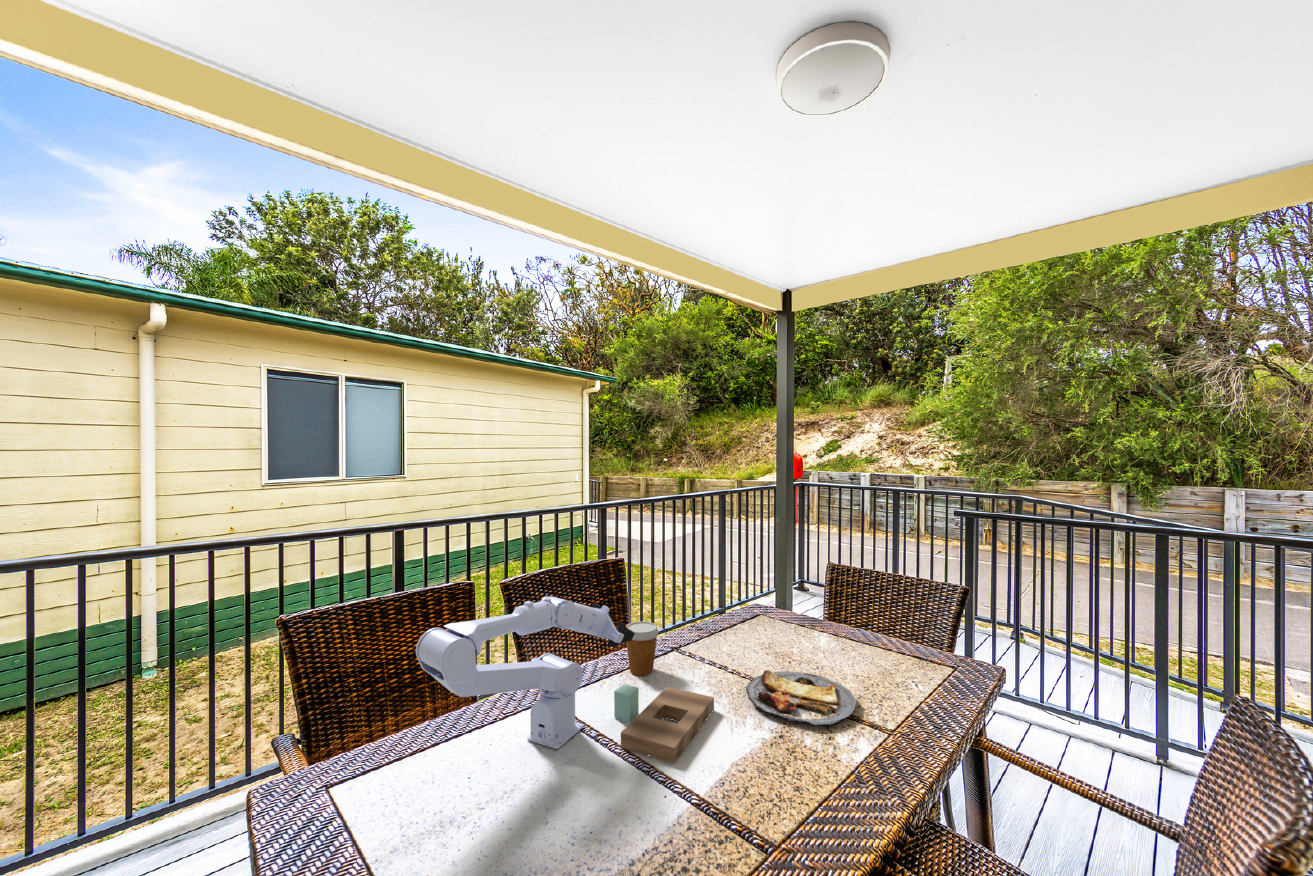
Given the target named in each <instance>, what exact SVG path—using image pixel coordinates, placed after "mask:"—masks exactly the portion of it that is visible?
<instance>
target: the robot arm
mask: <svg viewBox="0 0 1313 876" xmlns="http://www.w3.org/2000/svg"><path fill="white" fill-rule="evenodd" d="M609 612H610V608H609V607H608V606H607V605H602V606H601V605H600V604H599V603H597V602H593V603H592V604H591V605H590V606H588V605H585V604H581V603H578V602H574V601H572V600H568V599H564V598H559V597H555V596H551V595H550V596H548V595H546V596H544V597H543V598H542V599H541V600H540V601H537V602H534V601H530V600H527V601H524V603H523V605H519V606H517V607H515V608H514V610H513V612H512V613H511V614H509V613H508V614H503V615H498V616H491V617H486V618H479V619H474V620H473V619H472V620H466V621H459V622H450V623H448V624H445V625H443V627H444V628H446V629H447V630H446V629H444V628H442V627H433V628H430V629H428V630H426V631H425V632H424V633H423V634H422V635H421V636H420V637H419V638H418V641H417V643H416V646H415V655H416V659H417V661H418V662H419V663H418V664H419V665H420V668H421V669H422V670H423V671H425V672H426V673H427V674H428V675H431V677H433V678H434V680H436V681H438V682H439V683H440V685H442V686H443V687H445V689H446V690H448V691H449V692H451V693H452V694H454V695H456V696H458V697H459V698H467V697H475V696H483V695H484V696H485V695H492V694H493V695H495V694H501V693H510V692H519V691H520V692H521V691H527V690H536V689H538V690H539V689H540V695H539V697H538V698H537V700H536V702H535V703H534V704H533V705H532V706H531V708H530V734H529V736H527V737H526V738H527V741H529V742H533V743H536V744H538V745H539V744H540V745H542V746H544V747H547V748H551V749H555V750H558V749H560V748H561V747H562V746H563V745H564V744H566V743H567V742H568V741H569V740H570V739H572V738H573V736H575V735H576V734H577V733H578V732H579V731H581V730H582V729H583V728H584V723H580V722H576V692H578V689H579V687H580V686H581V683H582V680H583V675H584V671H583V668H582V666H581V665H580V664H579V663H578V662H574V661H570V660H568V659H565V658H562V657H560V656H558V655H555V654H553V653H551V652H544V654H542V655H540V656H539V657H534V658H531V659H530V661H522V662H505V663H490V664H477V658H476V656H479V655H480V654H481V652H482V647H483V645H484V642H486V641H487V642H488V641H489V640H493V639H496V638H499V637H502V636H505V635H508V634H510V633H514V632H515V633H516V634H517V635H519V636H522V637H523V636H526V635H530V634H533V633H537V632H542V631H545V630H549V629H550V628H553V627H554V628H558V629H561V631H563V630H569V631H570V630H571V631H574V632H578V633H582V634H587V635H591V636H593V637H597V638H601V639H605V640H608V641H607V644H608V645H609V646H611V647H612V648H617V647H618V646H620V645H621V644H624V643H627V642H628V641H631V640H632V638H633V636H634V634H635V633H634V632H633V631H632V630H630V629H628V628H627V627H626V626H627V625H625V623H624V622H622V621H619V622H618V625H617V626H616V625H615V624H614V621H615V619H616V617H615V616H613V615H612V614H610V613H609Z"/></svg>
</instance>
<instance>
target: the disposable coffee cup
mask: <svg viewBox="0 0 1313 876" xmlns="http://www.w3.org/2000/svg"><path fill="white" fill-rule="evenodd" d="M626 627H627V628H628V629H630V630H632V631H633V632H634V633H635V634H634V636H633V638H632V640H631V641H628V642H626V649H627V656H628V657H627V658H628V665H629V672H630V674H631V675H633V674H634V676H637V675H638V677H639V676H640V677H643V676H642V675H645V676H648V675H647V674H649V675H651V674H652V673H653V672H654V666H655V665H654V664H655V657H656V656H655V655H656V646H657V639H658V638H657V637H658V635H659V629H658V625H657V624H655V623H653V622H651V621H634V622H630V623H628V624H627V625H626ZM650 673H651V674H650Z"/></svg>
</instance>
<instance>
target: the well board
mask: <svg viewBox="0 0 1313 876" xmlns="http://www.w3.org/2000/svg"><path fill="white" fill-rule="evenodd" d="M714 697H715V696H714ZM714 697H713V696H710V695H706V694H702V693H697V692H693V691H688V690H683V689H680V688H675V687H670V686H666V687H665V688H664V689H663V690H662V691H661V692H660V693H659V694H658V695H657V696H656V697H655V698H654V699H653V700H652V701H651V702H650V703H649V704H648V705H647V706H646V707H645V708H644V709H643V710H642V711H641V712H640V713H639V714H638V715H637V716H636V717H635V718H634V719H633V720H632V721H631V722H630V723H629V724H628V725H627V726H626V727H625V728H624V729H623V730H622V731H621V732H620V748H621V747H622V748H621V749H624V750H627V751H630V752H633V751H635V752H634V753H637V752H638V753H637V754H640V753H641V754H640V755H643V754H644V756H647V755H650V756H651V758H653V757H654V759H656V760H657V759H658V760H660V761H663V760H664V761H663V762H668V763H671V764H673V765H676V763H677V762H678V760H679V759H680V758H681V756H682V755H683V754H684V752H685V750H686V749H687V748H688V747H689V744H690V743H691V742H692V741H693V740H694V738H695V737H696V735H697V734H698V733H697V732H699V731H700V730H701V729H702V727H703V726H704V725H705V723H706V722H707V721H706V719H707V718H708V717H709V718H710V716H711V715H712V714H713V712H714V711H715V700H714V699H715V698H714ZM713 710H714V711H713ZM712 711H713V712H712ZM711 713H712V714H711ZM710 714H711V715H710ZM709 715H710V716H709ZM663 718H664V719H666V718H668V720H670V719H673V720H672V721H674V720H676V721H675V723H674V722H671V721H668V720H664V719H663ZM709 718H708V719H709ZM662 719H663V720H662ZM708 719H707V720H708ZM678 721H679V722H678ZM705 721H706V722H705ZM676 722H677V723H676ZM703 724H704V725H703ZM702 725H703V726H702ZM700 728H701V729H700ZM699 729H700V730H699ZM650 756H649V757H650Z"/></svg>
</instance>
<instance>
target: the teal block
mask: <svg viewBox="0 0 1313 876" xmlns="http://www.w3.org/2000/svg"><path fill="white" fill-rule="evenodd" d="M613 692H614V696H613V697H614V702H613V704H614V711H613V713H614V719H615V718H616V719H615V720H618V719H620V720H619V721H622V720H623V721H622V722H625V721H626V722H625V723H629V724H630V723H631V722H632V721H633V720H634V719H635V718H636V717H637V716H638V715H639V714H640V713H639V712H640V711H639V709H640V708H639V687H638V686H633V685H628V684H626V683H625V684H624V683H623V684H622V685H620V686H619V687H618V688H617V689H616V690H615V691H613ZM632 719H633V720H632Z"/></svg>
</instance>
